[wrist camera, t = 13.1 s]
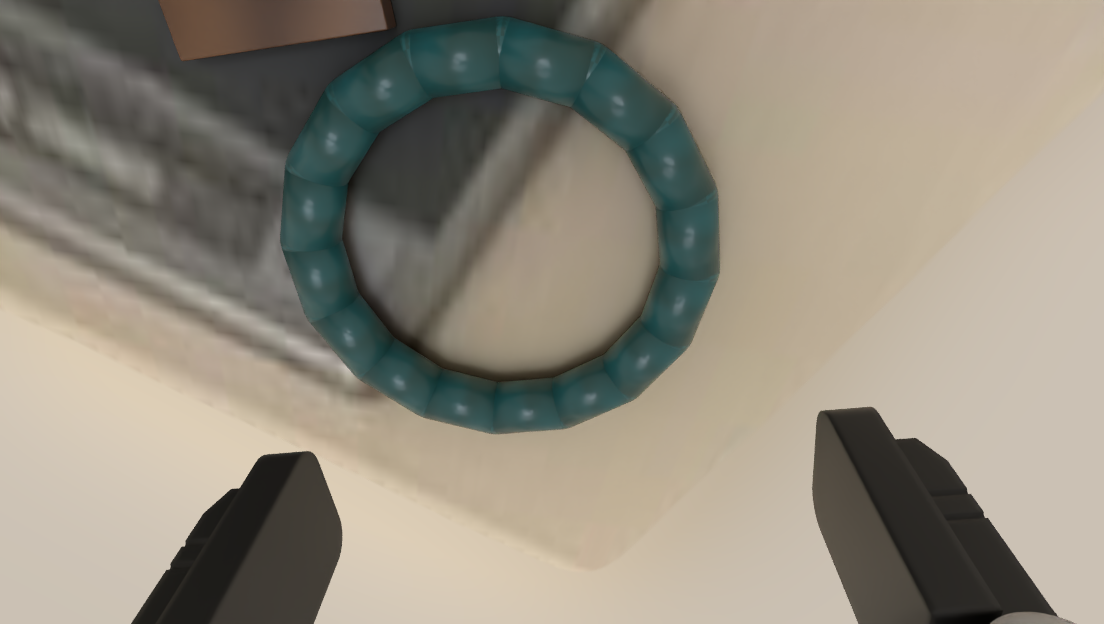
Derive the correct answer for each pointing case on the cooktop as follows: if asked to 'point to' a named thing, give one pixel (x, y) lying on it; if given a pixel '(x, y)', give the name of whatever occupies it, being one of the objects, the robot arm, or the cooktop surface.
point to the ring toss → (267, 23)
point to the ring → (542, 72)
